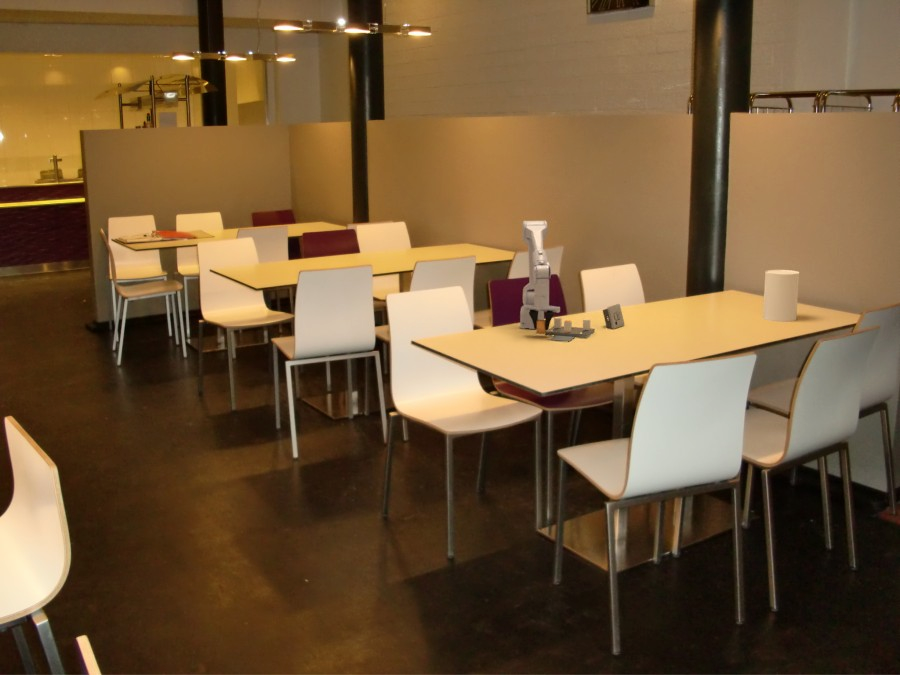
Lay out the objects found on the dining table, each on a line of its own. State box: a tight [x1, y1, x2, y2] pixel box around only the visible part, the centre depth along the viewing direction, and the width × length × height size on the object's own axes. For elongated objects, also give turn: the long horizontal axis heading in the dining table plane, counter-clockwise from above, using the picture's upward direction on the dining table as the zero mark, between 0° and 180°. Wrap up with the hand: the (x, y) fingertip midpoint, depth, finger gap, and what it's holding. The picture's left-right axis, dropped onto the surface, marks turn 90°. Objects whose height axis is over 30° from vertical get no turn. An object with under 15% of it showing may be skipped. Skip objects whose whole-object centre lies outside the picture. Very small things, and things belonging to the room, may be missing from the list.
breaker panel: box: [544, 325, 596, 339], centre depth 366 cm, size 17×12×2 cm
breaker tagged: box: [563, 319, 573, 332], centre depth 363 cm, size 2×2×4 cm
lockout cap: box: [535, 318, 547, 335], centre depth 361 cm, size 4×4×5 cm
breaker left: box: [553, 316, 563, 328], centre depth 371 cm, size 2×2×4 cm
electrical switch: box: [602, 303, 625, 330], centre depth 378 cm, size 9×5×9 cm, turn 141°
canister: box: [762, 269, 800, 323], centre depth 388 cm, size 14×14×20 cm
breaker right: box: [582, 318, 591, 330], centre depth 366 cm, size 2×2×4 cm
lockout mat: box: [548, 335, 576, 343], centre depth 357 cm, size 8×8×1 cm
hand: (541, 329), depth 362 cm, fingers closed on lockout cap, 4 cm apart
